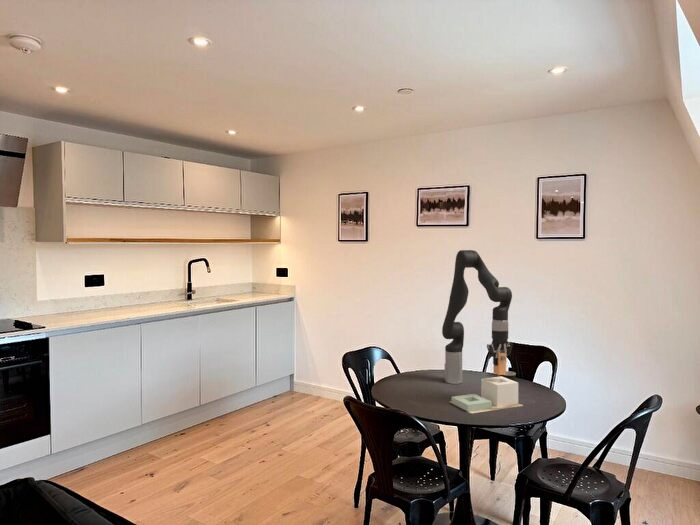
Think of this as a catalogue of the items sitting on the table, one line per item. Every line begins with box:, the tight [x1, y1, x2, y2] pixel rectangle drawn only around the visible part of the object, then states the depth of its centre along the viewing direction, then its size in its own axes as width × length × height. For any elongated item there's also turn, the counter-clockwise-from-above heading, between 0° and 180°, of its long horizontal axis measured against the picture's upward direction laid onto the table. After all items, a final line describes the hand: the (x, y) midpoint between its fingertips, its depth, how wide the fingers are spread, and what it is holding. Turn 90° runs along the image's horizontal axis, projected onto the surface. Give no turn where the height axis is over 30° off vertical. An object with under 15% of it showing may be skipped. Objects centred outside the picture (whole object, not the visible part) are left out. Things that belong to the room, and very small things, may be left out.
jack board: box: [448, 400, 524, 414], centre depth 226 cm, size 18×29×1 cm, turn 112°
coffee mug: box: [493, 370, 517, 382], centre depth 247 cm, size 12×9×10 cm
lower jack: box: [451, 393, 492, 413], centre depth 223 cm, size 13×13×3 cm
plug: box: [492, 351, 507, 376], centre depth 228 cm, size 5×4×10 cm
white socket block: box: [480, 376, 519, 407], centre depth 229 cm, size 12×12×10 cm
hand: (499, 364), depth 228 cm, fingers closed on plug, 4 cm apart
